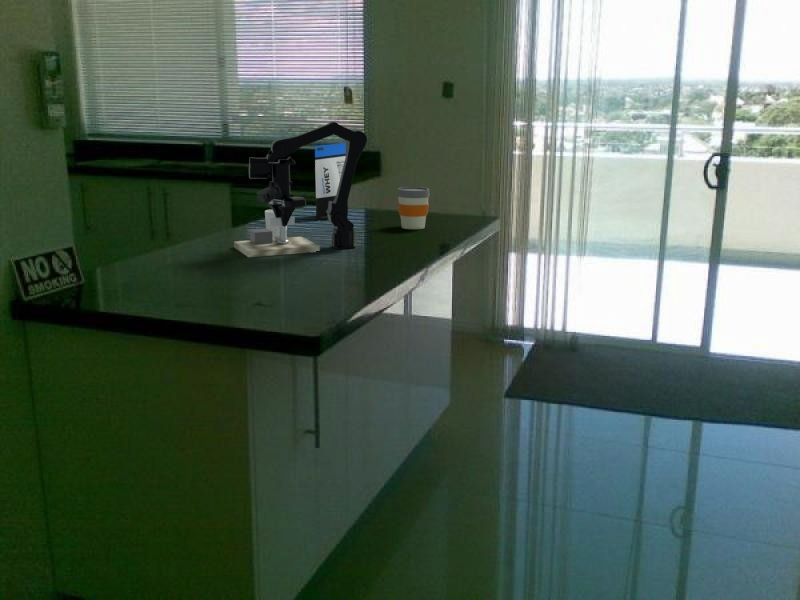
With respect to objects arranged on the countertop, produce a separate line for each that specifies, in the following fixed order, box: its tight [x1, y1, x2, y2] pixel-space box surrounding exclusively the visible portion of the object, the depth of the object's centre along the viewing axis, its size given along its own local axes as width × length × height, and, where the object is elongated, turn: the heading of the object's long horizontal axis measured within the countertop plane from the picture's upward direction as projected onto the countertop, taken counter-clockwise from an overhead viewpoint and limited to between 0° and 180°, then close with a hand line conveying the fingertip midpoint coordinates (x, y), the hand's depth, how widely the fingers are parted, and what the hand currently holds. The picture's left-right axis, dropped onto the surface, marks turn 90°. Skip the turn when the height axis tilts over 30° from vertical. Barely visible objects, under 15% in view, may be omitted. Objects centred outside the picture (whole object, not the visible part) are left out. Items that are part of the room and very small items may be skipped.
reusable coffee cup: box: [397, 186, 431, 230], centre depth 309 cm, size 13×13×15 cm
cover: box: [249, 228, 273, 245], centre depth 266 cm, size 6×6×4 cm
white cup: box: [264, 208, 288, 239], centre depth 283 cm, size 8×8×10 cm
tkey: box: [270, 216, 296, 244], centre depth 266 cm, size 8×9×8 cm
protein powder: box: [314, 142, 346, 222], centre depth 330 cm, size 10×24×30 cm, turn 153°
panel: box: [233, 236, 321, 258], centre depth 265 cm, size 24×18×2 cm
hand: (282, 225), depth 263 cm, fingers closed on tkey, 2 cm apart
